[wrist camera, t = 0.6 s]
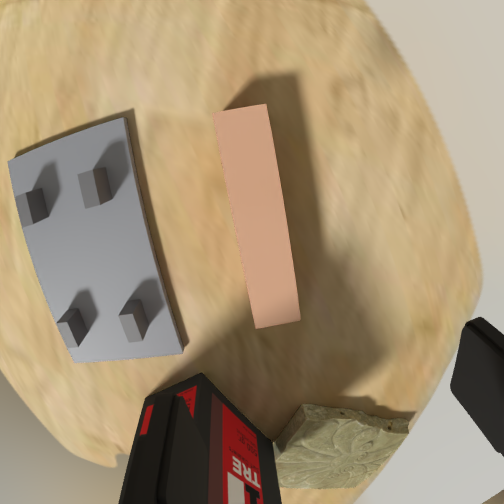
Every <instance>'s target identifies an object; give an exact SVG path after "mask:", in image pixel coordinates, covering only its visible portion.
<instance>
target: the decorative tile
mask: <svg viewBox="0 0 504 504" xmlns="http://www.w3.org/2000/svg"><path fill="white" fill-rule="evenodd" d="M408 425H409V422H408V420H406V419H403V418H395V419H389V420H388V419H383V418H379V417H377V416H370V415H367V414H365V413H364V412H363V411H361V410H358V411H354V410H352V409H346V408H332V407H326V406H322V407H321V406H318V405H312V404H302V405H301V406H300V407H299V409H298V410H297V412H296V413H295V414H294V416H293V417H292V419H291V420H290V421H289V423H288V424H287V426H286V427H285V428H284V430H283V431H282V432H281V434H280V435H279V436H278V438H277V439H276V441H275V442H274V443H273V449H274V456H275V463H276V469H277V476H278V482H279V487H285V488H304V489H310V488H311V489H335V488H345V489H346V488H354V487H356V486H358V485H359V484H360V483H362V482H363V481H364V480H366V479H367V478H368V477H370V476H371V475H372V474H373V473H374V471H376V470H377V469H378V468H379V467H380V466H381V465H382V464H383V463H384V462H385V461H386V460H387V459H388V458H389V457H390V455H391V454H393V453H394V452H395V451H396V450H397V449H398V447H399V446H400V445H401V444H402V442H403V441H404V439H405V438H406V436H407V435H408V434H409V430H408Z"/></svg>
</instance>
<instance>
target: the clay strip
mask: <svg viewBox="0 0 504 504" xmlns="http://www.w3.org/2000/svg"><path fill="white" fill-rule="evenodd" d="M212 115H213V120H214V125H215V131H216V136H217V141H218V146H219V151H220V156H221V161H222V166H223V172H224V177H225V182H226V187H227V192H228V197H229V202H230V207H231V212H232V217H233V222H234V227H235V231H236V236H237V241H238V246H239V251H240V256H241V261H242V266H243V271H244V275H245V280H246V285H247V290H248V295H249V299H250V304H251V309H252V314H253V318H254V323H255V328H256V329H259V328H264V327H270V326H275V325H280V324H285V323H289V322H294V321H299V320H301V317H300V309H299V302H298V294H297V287H296V280H295V273H294V266H293V259H292V252H291V246H290V239H289V232H288V226H287V220H286V213H285V207H284V201H283V195H282V189H281V183H280V177H279V171H278V165H277V160H276V154H275V148H274V143H273V137H272V132H271V127H270V121H269V116H268V111H267V105H266V104H260V105H254V106H248V107H242V108H236V109H231V110H226V111H221V112H215V113H212Z"/></svg>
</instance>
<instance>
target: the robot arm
mask: <svg viewBox="0 0 504 504" xmlns="http://www.w3.org/2000/svg"><path fill="white" fill-rule="evenodd" d="M450 388H451V391H452V393H453V395H454V396H455V397H456V398H457V400H458V401H459V402H460V404H461V405H462V406H463V407H464V409H465V410H466V411H467V412H468V414H469V415H470V417H471V418H472V419H473V421H474V422H475V423H476V425H477V426H478V427H479V429H480V430H481V431H482V433H483V434H484V435H485V437H486V438H487V439H488V441H489V442H490V443H491V445H492V446H493V447H494V449H495V450H496V451H497V452H498V453H501V454H502V455H503V456H504V335H503V334H502V333H501V332H500V331H498V330H497V329H496V328H495V327H494V326H492V325H491V324H490V323H489V322H487V321H486V320H485V319H484V318H482V317H478V318H475V319H473V320H470V321H468V322H466V324H465V326H464V328H463V329H462V333H461V339H460V344H459V349H458V354H457V358H456V363H455V368H454V371H453V376H452V380H451V384H450ZM207 467H208V452H207V448H206V445H205V443H204V441H203V439H202V437H201V435H200V433H199V430H198V428H197V426H196V424H195V422H194V420H193V417H192V415H191V413H190V411H189V409H188V406H187V404H186V402H185V399H184V397H183V396H178V395H177V393H176V392H169V393H158V394H157V395H156V397H155V401H154V405H153V409H152V413H151V417H150V421H149V425H148V429H147V433H146V434H141V435H140V436H139V438H138V440H137V444H136V448H135V452H134V456H133V460H132V464H131V468H130V472H129V476H128V481H127V485H126V489H125V494H124V498H123V503H122V504H206V497H207ZM482 504H504V490H502V491H501V492H499V493H498V494H496V495H495V496H493V497H491V498H490V499H488V500H487V501H485V502H484V503H482Z"/></svg>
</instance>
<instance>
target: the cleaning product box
mask: <svg viewBox="0 0 504 504" xmlns="http://www.w3.org/2000/svg"><path fill="white" fill-rule="evenodd" d="M169 392H176V393H177V395H178V396H183V397H184V399H185V402H186V404H187V406H188V409H189V411H190V413H191V415H192V417H193V420H194V422H195V424H196V426H197V428H198V430H199V433H200V435H201V437H202V439H203V441H204V443H205V445H206V448H207V452H208V467H207V497H206V504H282V502H281V495H280V489H279V482H278V476H277V469H276V463H275V456H274V449H273V443H272V442H271V441H270V440H269V439H268V438H267V437H266V436H265V435H263V434H262V433H261V432H260V431H259V430H258V429H257V428H256V427H255V426H254V425H253V424H252V423H251V422H250V421H249V420H248V419H247V418H246V417H245V416H244V415H243V414H242V413H241V412H240V411H239V410H238V409H237V408H236V407H235V406H234V405H233V404H232V403H231V402H230V401H229V400H228V399H227V398H226V397H225V396H224V395H223V394H222V393H221V392H220V391H219V390H218V389H217V388H216V387H215V386H214V385H213V384H212V383H211V382H210V381H209V380H208V378H207V377H206V376H205V375H204V374H203V373H199V374H197V375H195V376H193V377H191V378H189V379H187V380H185V381H182V382H180V383H178V384H176V385H174V386H172V387H169V388H167V389H165V390H163V391H160V392H158V393H169ZM158 393H156V394H154V395H151V396H149V397H147V398H145V401H144V404H143V408H142V412H141V415H140V419H139V422H138V426H137V430H136V434H135V437H134V441H133V445H132V449H131V453H130V457H129V461H128V465H127V469H126V473H125V477H124V482H123V486H122V490H121V495H120V499H119V504H122V503H123V498H124V494H125V489H126V485H127V481H128V476H129V472H130V468H131V464H132V460H133V456H134V452H135V448H136V444H137V440H138V438H139V436H140V435H141V434H146V433H147V429H148V425H149V421H150V417H151V413H152V409H153V405H154V401H155V397H156V395H157V394H158Z"/></svg>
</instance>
